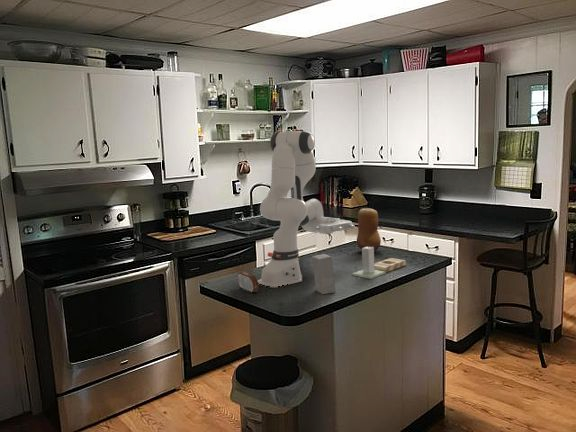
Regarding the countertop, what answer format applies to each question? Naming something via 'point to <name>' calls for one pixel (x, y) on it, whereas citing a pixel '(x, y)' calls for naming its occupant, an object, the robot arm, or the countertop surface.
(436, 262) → the countertop surface
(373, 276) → the green mat
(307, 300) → the countertop surface
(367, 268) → the white rectangular block
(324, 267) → the skincare box
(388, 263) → the plane body
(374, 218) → the butternut squash
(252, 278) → the brown white rounded block
